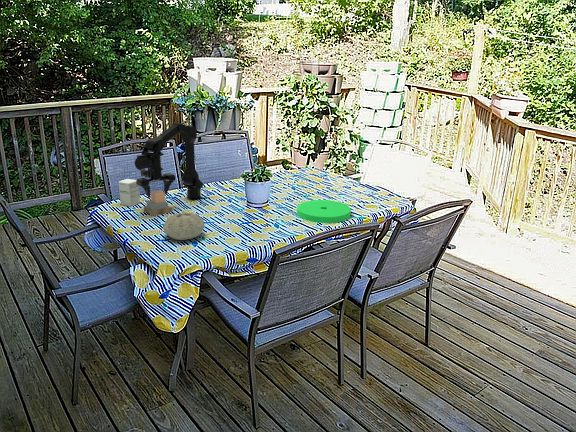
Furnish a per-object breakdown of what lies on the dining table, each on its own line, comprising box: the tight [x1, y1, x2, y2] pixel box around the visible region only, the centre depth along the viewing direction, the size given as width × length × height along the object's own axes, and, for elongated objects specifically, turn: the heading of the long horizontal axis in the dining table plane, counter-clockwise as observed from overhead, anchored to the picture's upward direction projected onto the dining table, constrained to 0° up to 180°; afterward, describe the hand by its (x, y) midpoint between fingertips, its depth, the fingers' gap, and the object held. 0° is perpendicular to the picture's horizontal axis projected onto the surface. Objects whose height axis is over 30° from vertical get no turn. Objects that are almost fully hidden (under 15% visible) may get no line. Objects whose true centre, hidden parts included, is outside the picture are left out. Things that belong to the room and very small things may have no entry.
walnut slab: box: [143, 205, 172, 217], centre depth 253 cm, size 10×10×3 cm
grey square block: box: [145, 199, 169, 211], centre depth 252 cm, size 8×8×3 cm
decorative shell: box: [163, 212, 205, 241], centre depth 222 cm, size 18×18×10 cm
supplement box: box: [118, 178, 141, 208], centre depth 262 cm, size 7×7×13 cm
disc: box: [296, 199, 352, 224], centre depth 254 cm, size 27×27×3 cm
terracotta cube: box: [150, 189, 166, 203], centre depth 251 cm, size 5×5×5 cm
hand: (157, 196), depth 251 cm, fingers open, 9 cm apart
